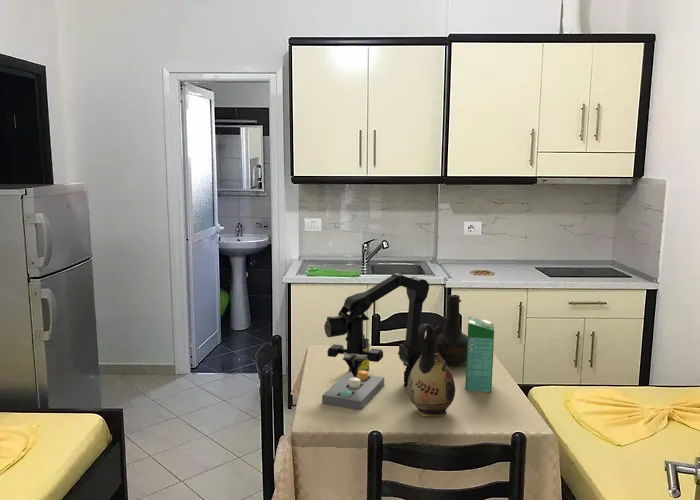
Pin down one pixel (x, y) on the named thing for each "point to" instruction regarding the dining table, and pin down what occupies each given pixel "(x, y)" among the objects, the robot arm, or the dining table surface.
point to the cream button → (354, 383)
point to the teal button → (346, 393)
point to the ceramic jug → (430, 376)
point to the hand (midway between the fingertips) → (355, 376)
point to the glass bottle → (452, 336)
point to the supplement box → (365, 363)
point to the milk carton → (479, 355)
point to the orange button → (362, 375)
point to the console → (353, 392)
